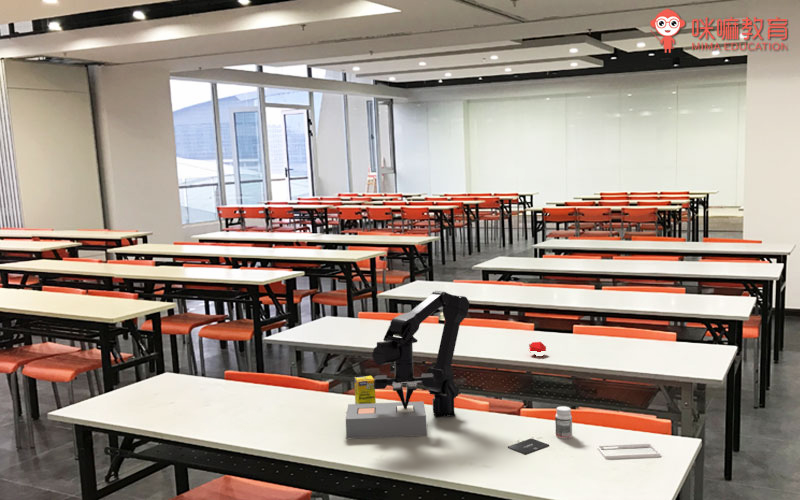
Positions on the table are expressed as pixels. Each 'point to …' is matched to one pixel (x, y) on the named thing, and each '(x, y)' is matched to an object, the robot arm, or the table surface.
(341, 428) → the table surface
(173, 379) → the table surface
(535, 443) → the solid state drive
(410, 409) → the ivory key
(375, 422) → the key console
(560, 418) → the pill bottle
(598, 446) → the phone case
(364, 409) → the terracotta key
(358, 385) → the supplement box
